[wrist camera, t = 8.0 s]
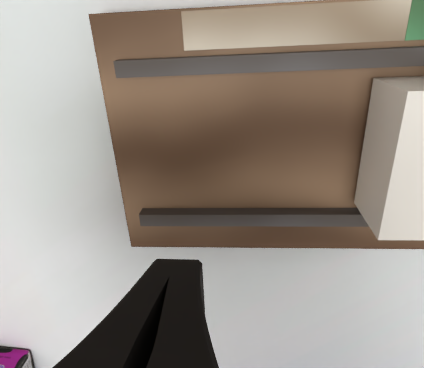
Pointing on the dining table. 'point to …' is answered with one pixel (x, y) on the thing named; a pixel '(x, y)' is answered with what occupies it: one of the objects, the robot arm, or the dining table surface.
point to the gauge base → (250, 118)
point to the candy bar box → (15, 358)
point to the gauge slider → (393, 160)
